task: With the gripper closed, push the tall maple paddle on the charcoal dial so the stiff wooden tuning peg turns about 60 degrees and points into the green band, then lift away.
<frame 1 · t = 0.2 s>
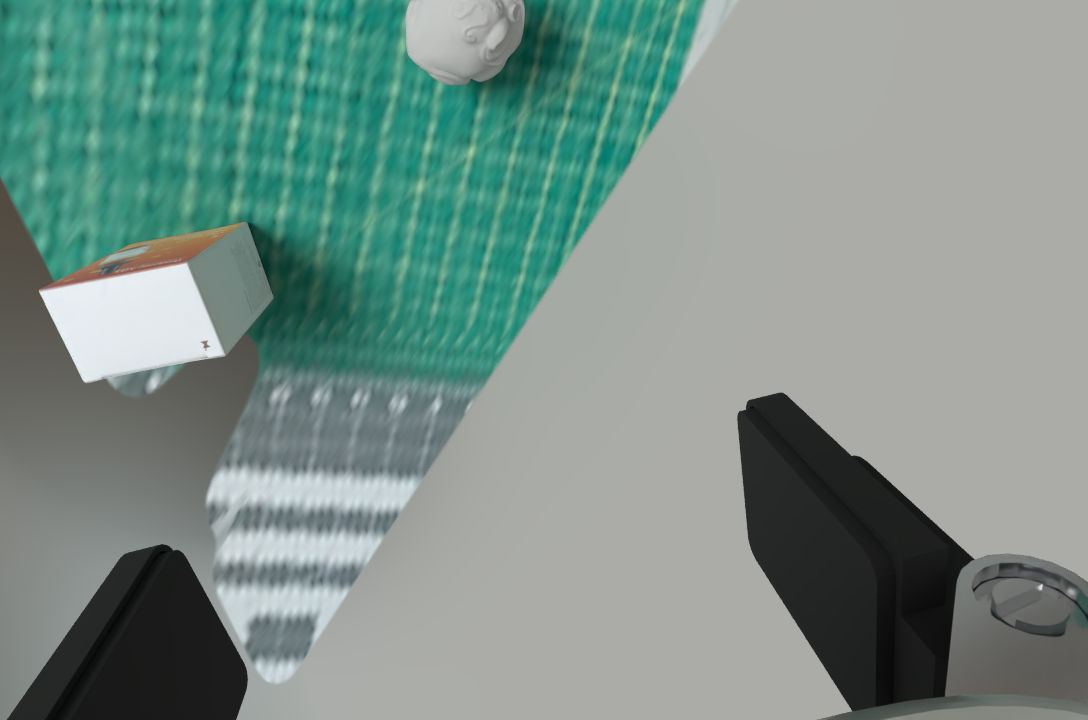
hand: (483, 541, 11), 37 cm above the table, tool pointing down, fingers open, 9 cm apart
grey rounded lump: (462, 32, 41), on the table
small box: (205, 271, 44), on the table
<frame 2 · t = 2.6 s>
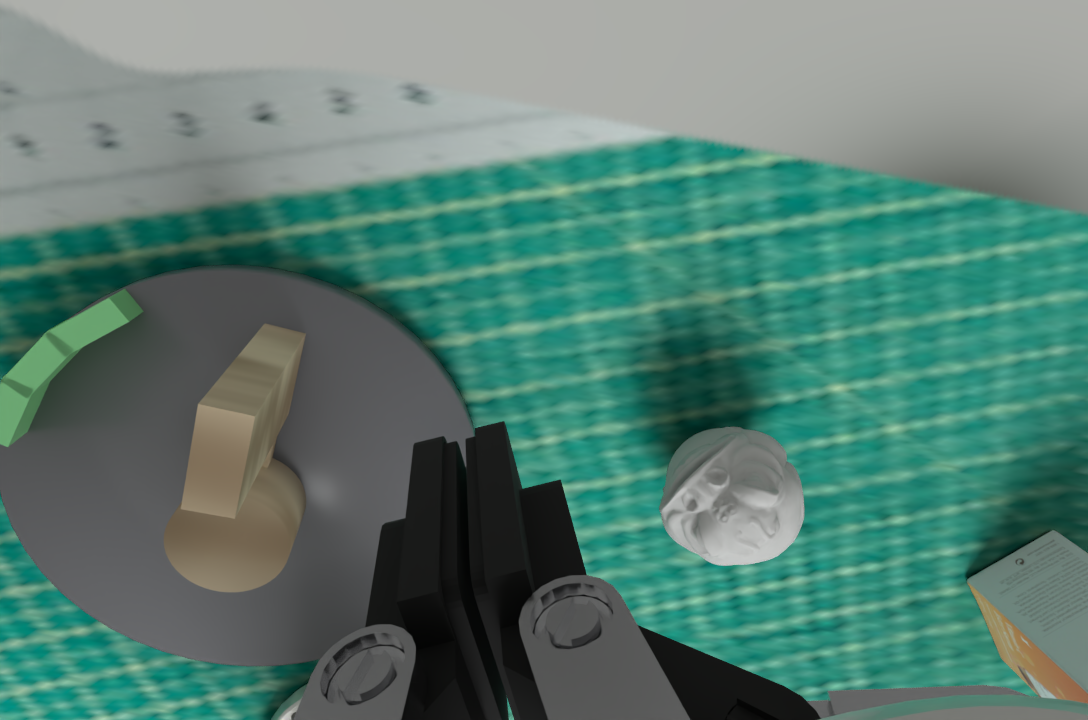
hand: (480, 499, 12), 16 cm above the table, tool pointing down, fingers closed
dial face: (261, 478, 28), on the table
grey rounded lump: (697, 451, 31), on the table
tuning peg: (235, 490, 23), point 5 cm above the table, hinge at 0.0°
small box: (1022, 593, 38), on the table
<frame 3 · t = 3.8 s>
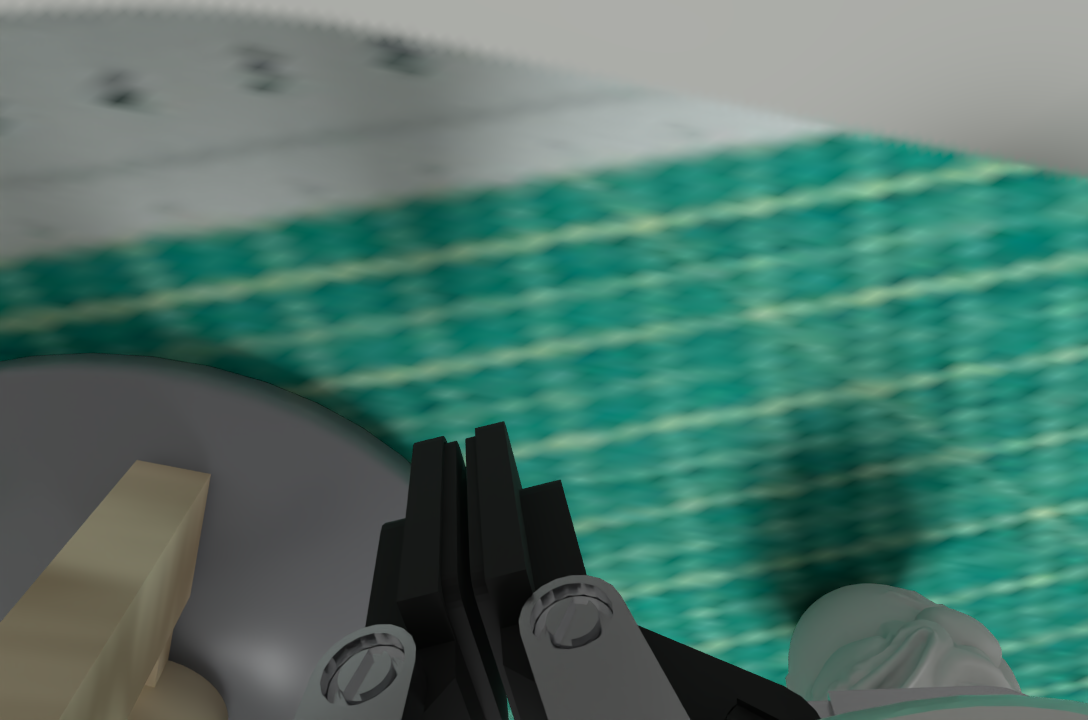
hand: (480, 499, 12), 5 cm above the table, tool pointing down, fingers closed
dial face: (162, 667, 18), on the table
grey rounded lump: (826, 602, 21), on the table
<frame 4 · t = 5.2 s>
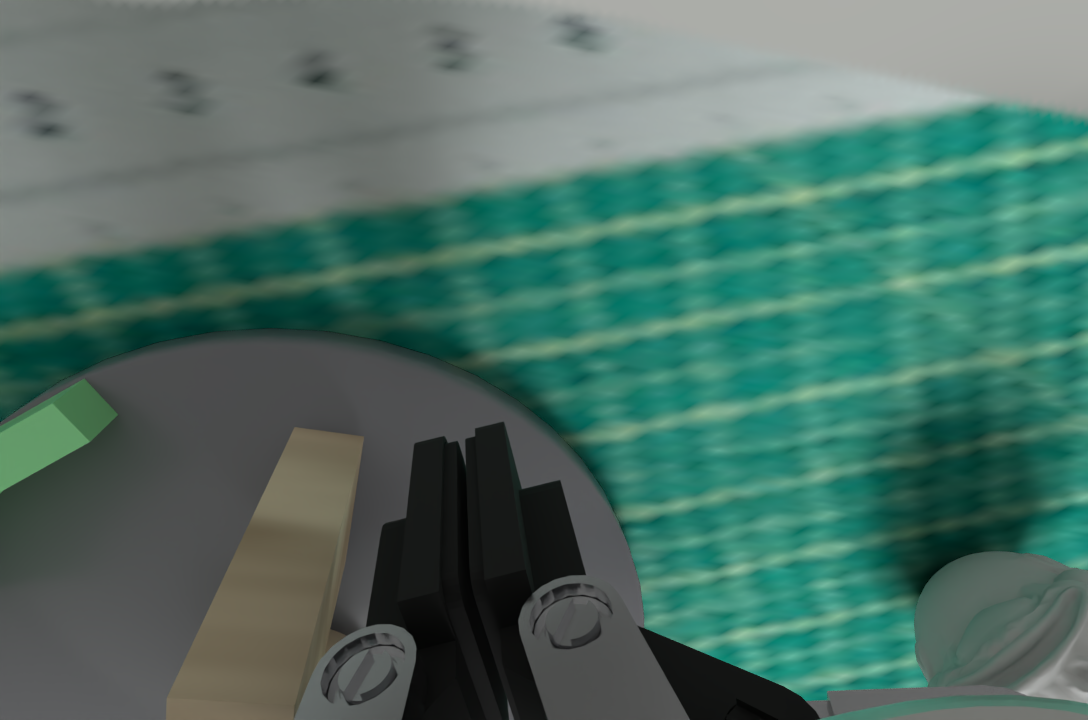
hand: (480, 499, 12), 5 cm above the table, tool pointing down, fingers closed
dial face: (309, 641, 19), on the table
grey rounded lump: (944, 573, 21), on the table
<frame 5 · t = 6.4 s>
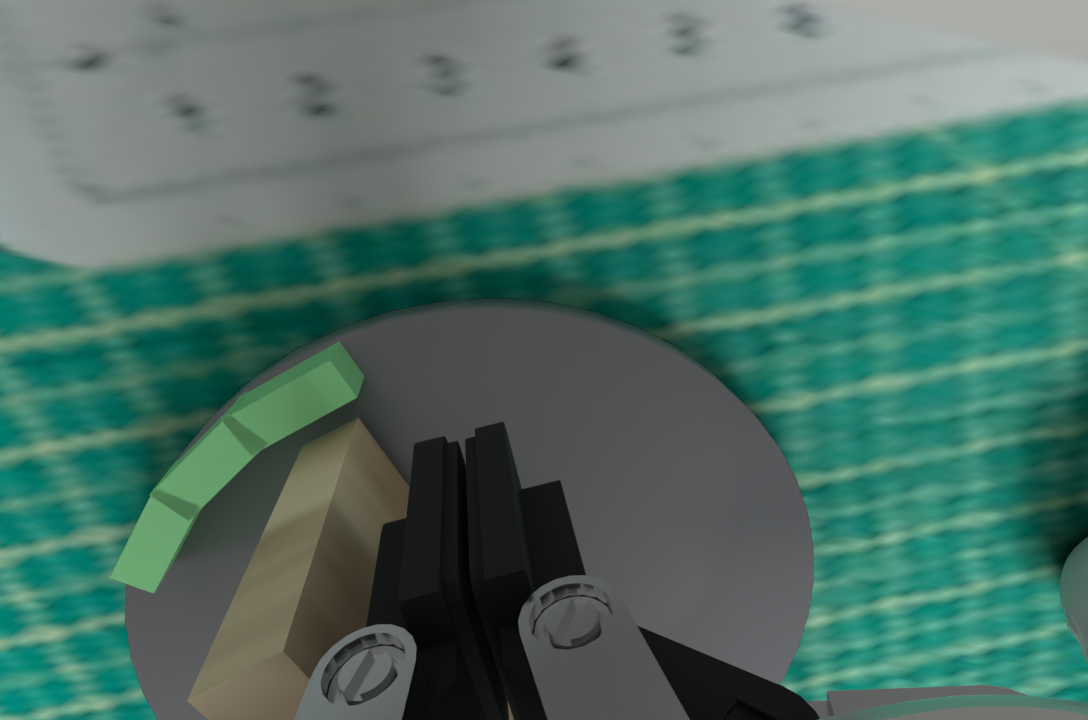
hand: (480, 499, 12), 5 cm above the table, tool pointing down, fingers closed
dial face: (490, 604, 20), on the table
grey rounded lump: (1082, 545, 22), on the table
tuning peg: (437, 688, 14), point 5 cm above the table, hinge at 44.7°, touching gripper
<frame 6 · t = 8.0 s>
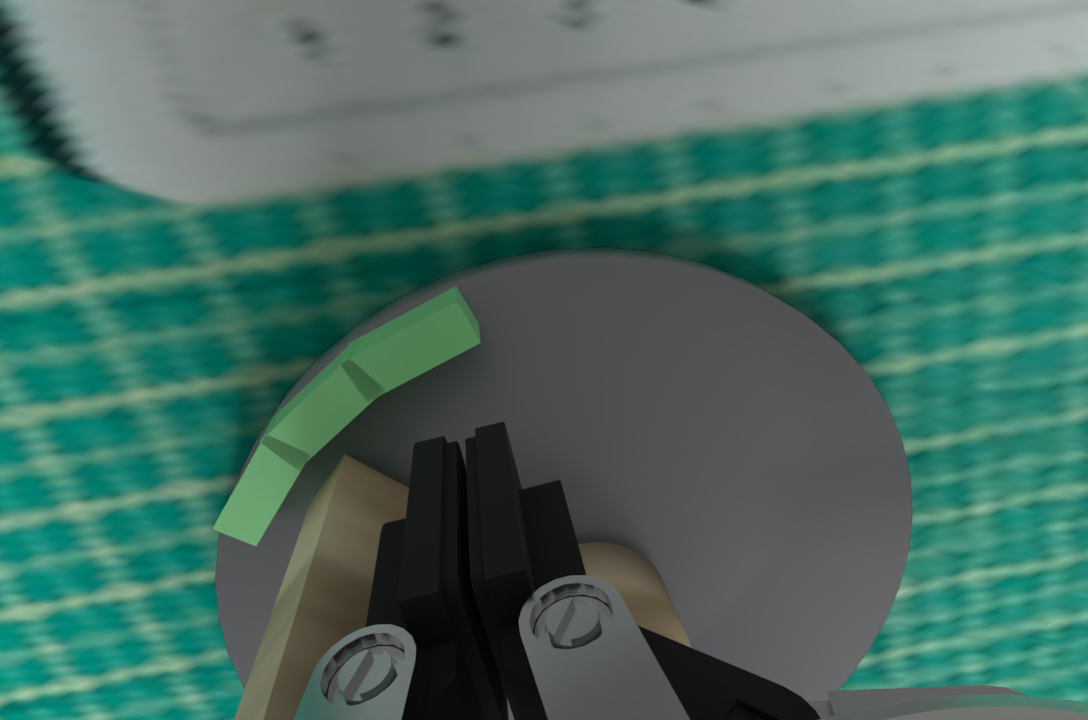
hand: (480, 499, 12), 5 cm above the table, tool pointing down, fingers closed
dial face: (576, 569, 19), on the table
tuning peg: (514, 680, 13), point 5 cm above the table, hinge at 71.5°, touching gripper
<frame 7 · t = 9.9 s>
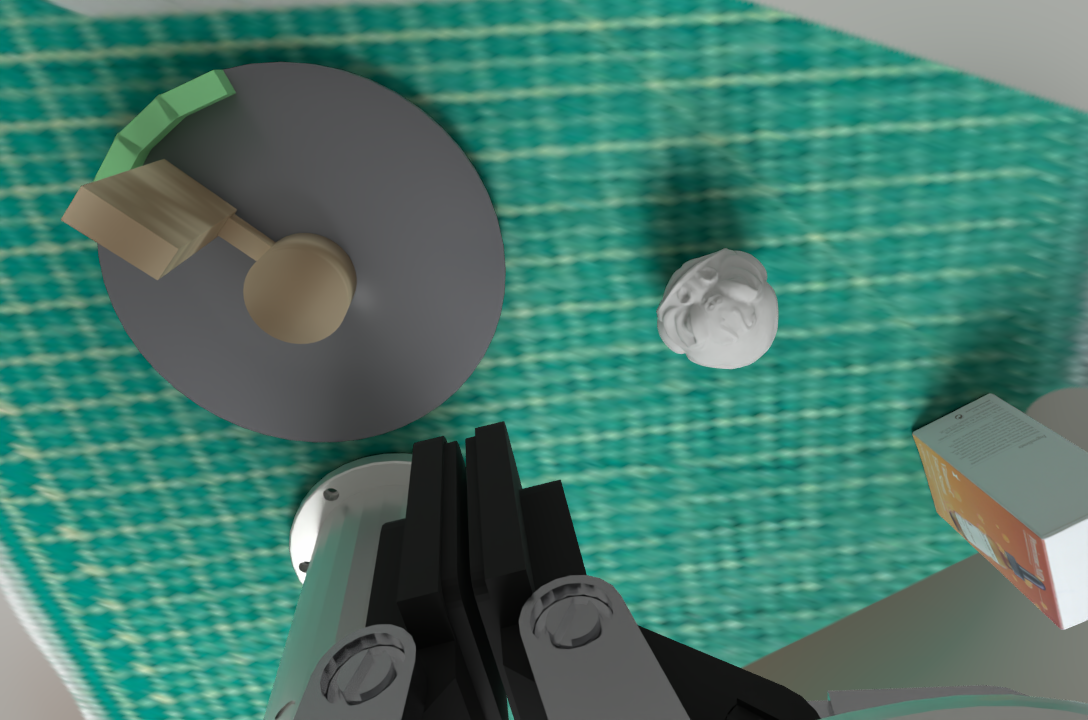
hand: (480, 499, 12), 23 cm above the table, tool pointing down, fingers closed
dial face: (316, 268, 33), on the table
grey rounded lump: (691, 285, 36), on the table
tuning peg: (234, 262, 27), point 5 cm above the table, hinge at 71.6°
small box: (959, 453, 43), on the table
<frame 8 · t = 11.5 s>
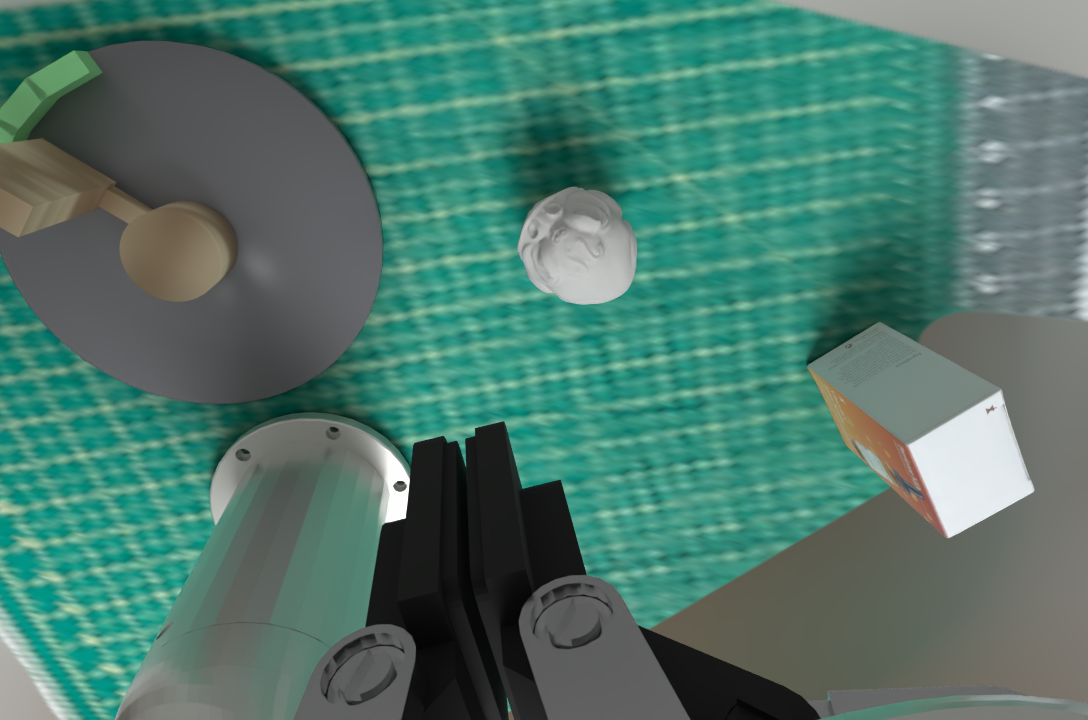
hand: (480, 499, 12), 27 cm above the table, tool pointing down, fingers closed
dial face: (203, 236, 35), on the table
grey rounded lump: (566, 231, 38), on the table
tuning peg: (105, 226, 30), point 5 cm above the table, hinge at 71.6°
small box: (859, 384, 45), on the table
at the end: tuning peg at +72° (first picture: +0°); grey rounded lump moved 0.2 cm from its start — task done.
